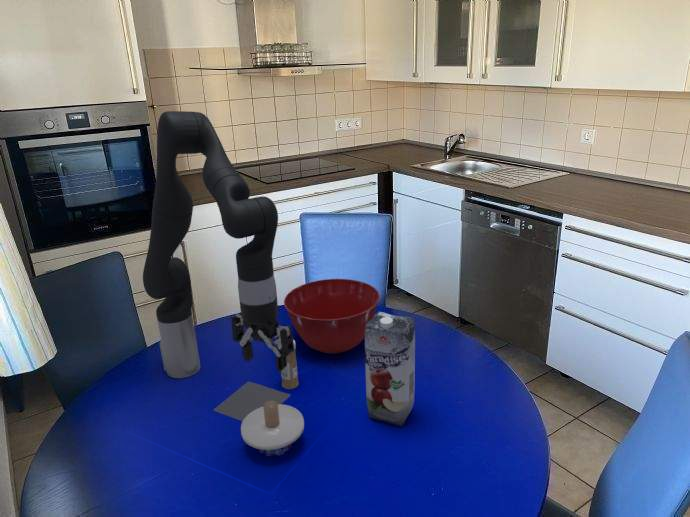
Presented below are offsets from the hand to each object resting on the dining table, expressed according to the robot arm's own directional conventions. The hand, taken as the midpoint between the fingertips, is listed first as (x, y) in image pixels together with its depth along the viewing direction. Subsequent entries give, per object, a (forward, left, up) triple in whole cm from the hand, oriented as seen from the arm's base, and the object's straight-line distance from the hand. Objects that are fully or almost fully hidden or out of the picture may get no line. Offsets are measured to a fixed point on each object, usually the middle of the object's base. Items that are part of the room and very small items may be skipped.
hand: (265, 364), depth 113 cm
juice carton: (+19, +22, -22) cm, 36 cm away
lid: (0, 0, -17) cm, 17 cm away
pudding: (0, 0, -22) cm, 22 cm away
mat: (-14, +10, -22) cm, 28 cm away
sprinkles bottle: (-10, +21, -22) cm, 32 cm away
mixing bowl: (-11, +46, -22) cm, 52 cm away
